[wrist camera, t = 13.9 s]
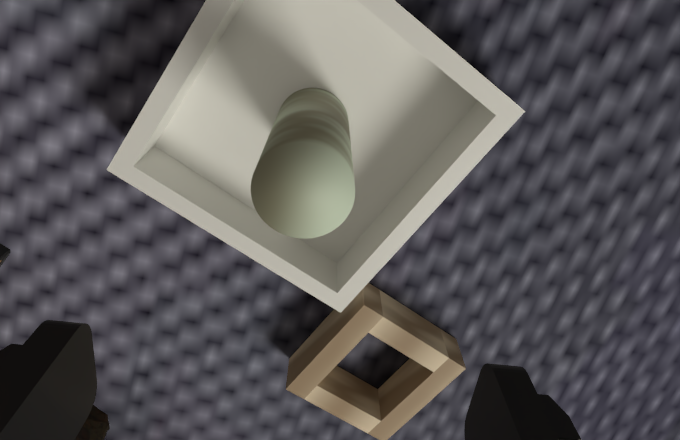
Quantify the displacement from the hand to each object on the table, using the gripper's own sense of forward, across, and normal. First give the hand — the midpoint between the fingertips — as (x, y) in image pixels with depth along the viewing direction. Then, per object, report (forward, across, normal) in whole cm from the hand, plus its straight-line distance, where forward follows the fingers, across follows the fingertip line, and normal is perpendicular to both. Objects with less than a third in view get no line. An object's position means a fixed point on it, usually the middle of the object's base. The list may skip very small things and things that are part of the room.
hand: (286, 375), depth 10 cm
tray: (+20, 0, 0) cm, 21 cm away
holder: (+21, -6, +16) cm, 27 cm away
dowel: (+20, 0, 0) cm, 20 cm away
